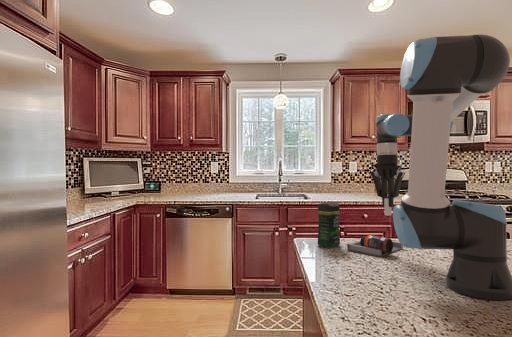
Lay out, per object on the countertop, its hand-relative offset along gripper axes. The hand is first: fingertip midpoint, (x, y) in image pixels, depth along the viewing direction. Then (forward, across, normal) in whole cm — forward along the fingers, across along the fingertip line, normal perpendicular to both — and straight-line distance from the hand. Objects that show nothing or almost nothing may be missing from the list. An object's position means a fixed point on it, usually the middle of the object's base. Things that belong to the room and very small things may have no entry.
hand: (388, 215), depth 124 cm
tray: (+14, +6, 0) cm, 15 cm away
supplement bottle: (+11, -3, +5) cm, 12 cm away
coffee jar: (+15, +22, +8) cm, 28 cm away
